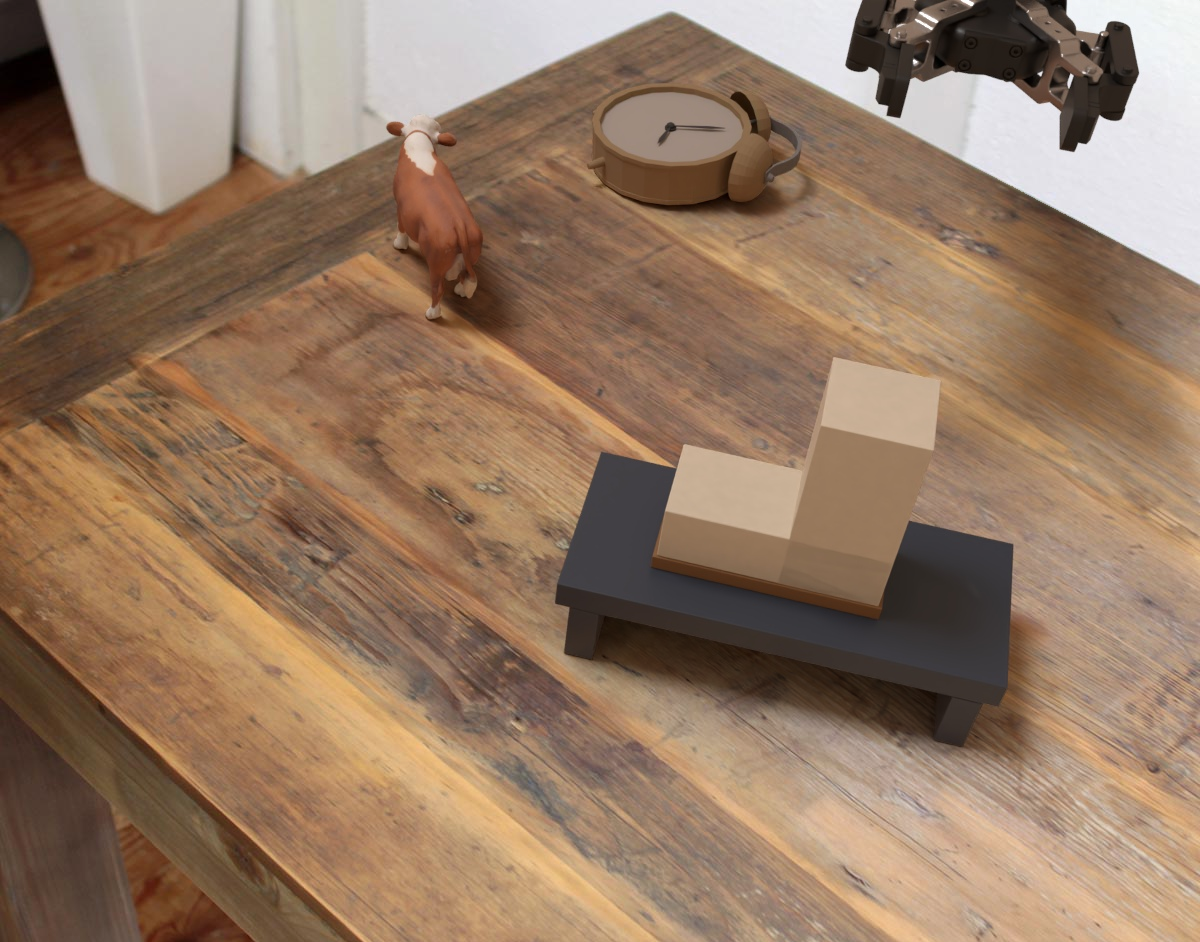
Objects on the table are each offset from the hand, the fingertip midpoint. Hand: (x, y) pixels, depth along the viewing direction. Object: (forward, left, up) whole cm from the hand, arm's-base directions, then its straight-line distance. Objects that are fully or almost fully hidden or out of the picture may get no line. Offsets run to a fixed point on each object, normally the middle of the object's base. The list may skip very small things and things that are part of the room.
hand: (985, 117), depth 71 cm
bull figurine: (+30, -9, -22) cm, 38 cm away
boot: (+5, +15, -17) cm, 24 cm away
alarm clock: (+16, -27, -22) cm, 38 cm away
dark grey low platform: (+4, +15, -22) cm, 27 cm away
